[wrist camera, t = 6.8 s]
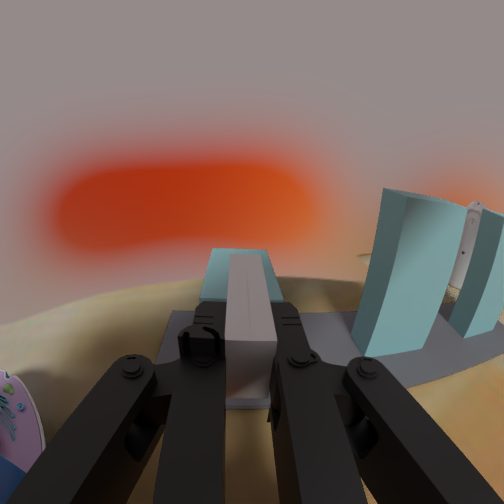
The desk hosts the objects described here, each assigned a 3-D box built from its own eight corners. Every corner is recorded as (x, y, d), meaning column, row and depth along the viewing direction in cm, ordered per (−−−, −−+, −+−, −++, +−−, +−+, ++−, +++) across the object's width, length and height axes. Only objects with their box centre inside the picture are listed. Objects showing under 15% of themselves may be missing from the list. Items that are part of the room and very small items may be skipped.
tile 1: (477, 315, 22) (508, 215, 18) (492, 329, 19) (528, 224, 15) (446, 321, 22) (481, 207, 18) (463, 338, 19) (504, 217, 15)
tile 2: (405, 327, 21) (441, 198, 17) (421, 348, 18) (467, 208, 14) (349, 333, 21) (381, 187, 17) (363, 358, 18) (407, 196, 14)
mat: (473, 302, 26) (474, 299, 26) (519, 344, 16) (520, 341, 16) (172, 314, 23) (172, 310, 23) (146, 402, 14) (145, 398, 14)
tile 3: (279, 335, 20) (264, 276, 32) (283, 299, 19) (266, 249, 31) (201, 334, 20) (212, 274, 31) (199, 297, 19) (212, 248, 30)
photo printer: (465, 293, 28) (489, 206, 24) (441, 282, 31) (462, 197, 27) (475, 276, 34) (493, 205, 29) (456, 267, 37) (472, 198, 33)
